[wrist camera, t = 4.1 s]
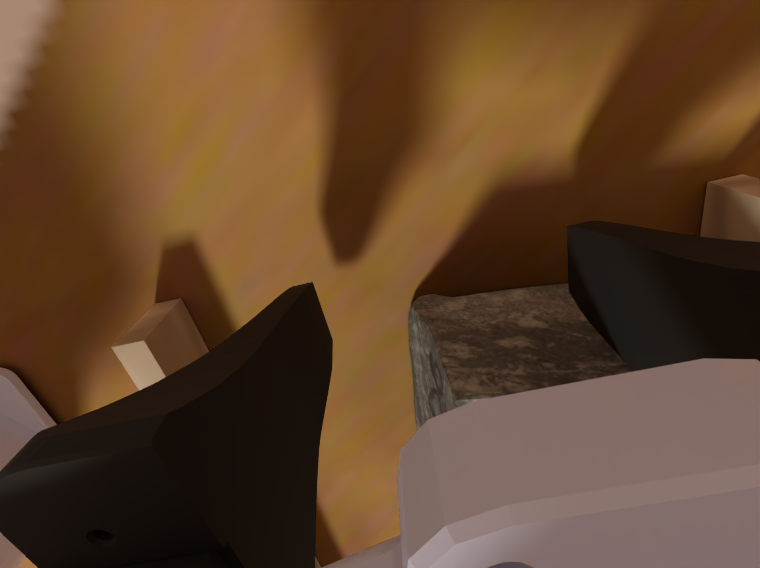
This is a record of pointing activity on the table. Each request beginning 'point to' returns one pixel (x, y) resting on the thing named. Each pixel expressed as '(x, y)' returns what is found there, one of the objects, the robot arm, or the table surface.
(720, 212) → the trap lane
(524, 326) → the stone block
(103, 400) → the table surface
